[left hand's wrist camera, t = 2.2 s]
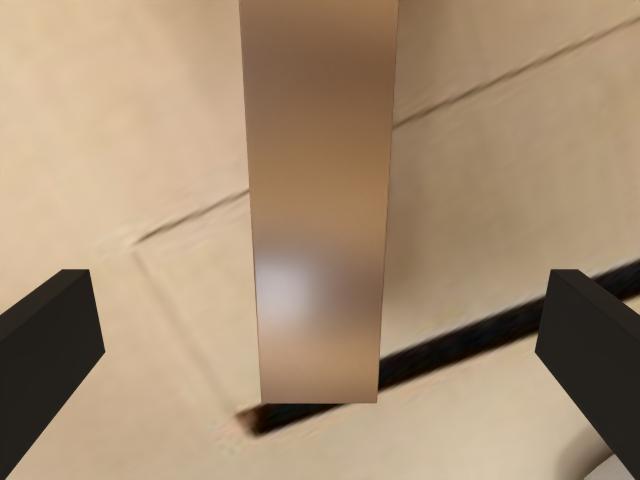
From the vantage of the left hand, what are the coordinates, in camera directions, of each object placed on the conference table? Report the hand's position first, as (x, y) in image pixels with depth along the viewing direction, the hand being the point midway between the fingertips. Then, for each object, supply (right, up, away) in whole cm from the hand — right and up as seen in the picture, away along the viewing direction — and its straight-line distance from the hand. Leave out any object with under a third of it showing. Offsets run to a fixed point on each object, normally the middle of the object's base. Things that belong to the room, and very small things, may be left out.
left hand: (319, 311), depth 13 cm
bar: (0, +23, +5) cm, 24 cm away
